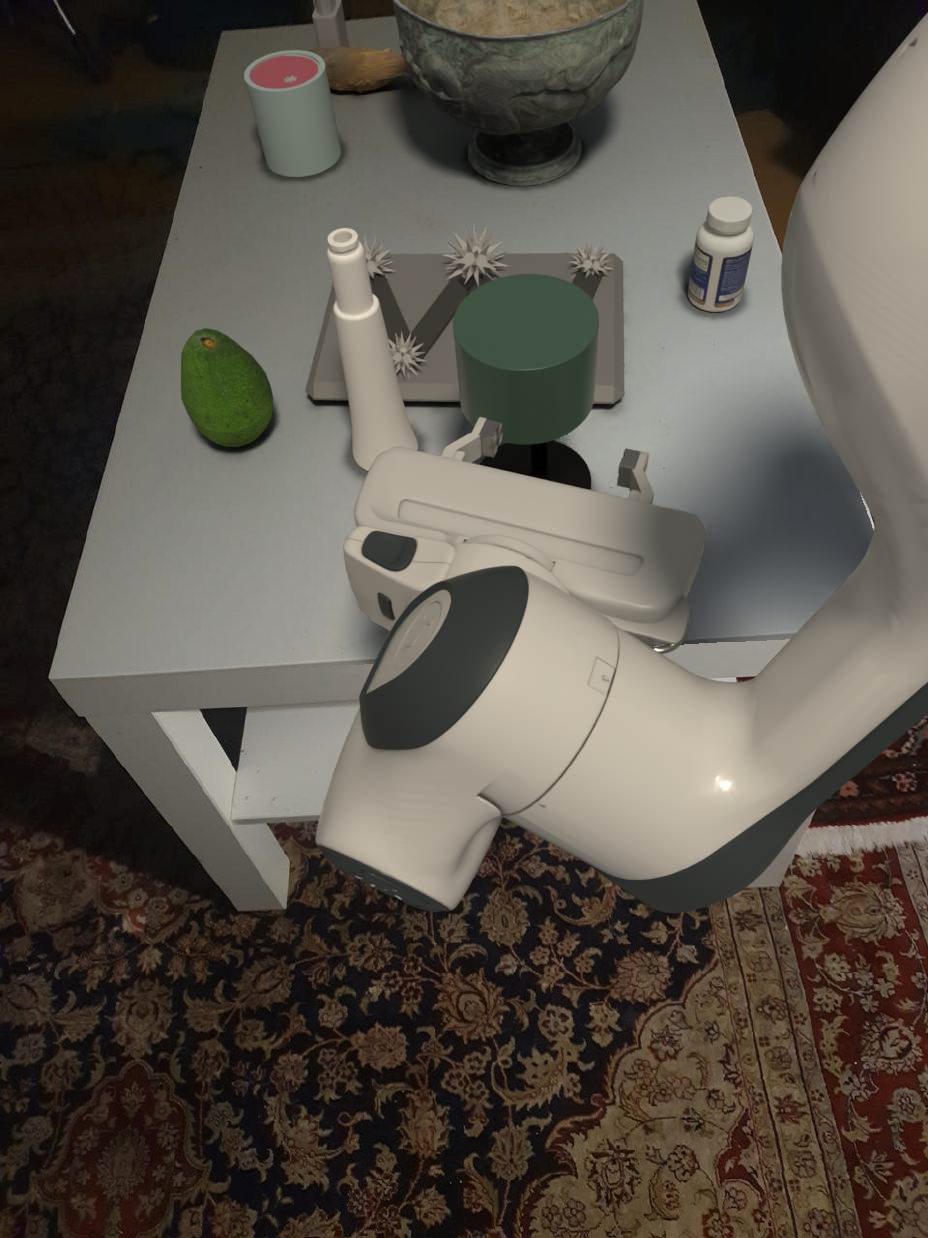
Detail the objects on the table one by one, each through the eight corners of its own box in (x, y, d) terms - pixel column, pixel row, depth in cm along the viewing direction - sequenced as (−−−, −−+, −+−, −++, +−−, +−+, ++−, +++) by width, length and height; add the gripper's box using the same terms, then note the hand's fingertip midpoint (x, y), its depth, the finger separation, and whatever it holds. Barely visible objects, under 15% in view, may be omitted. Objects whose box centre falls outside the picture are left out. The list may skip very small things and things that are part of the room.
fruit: (198, 471, 85) (152, 370, 75) (203, 410, 89) (160, 308, 79) (283, 460, 85) (248, 359, 75) (284, 400, 89) (251, 297, 79)
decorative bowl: (682, 172, 104) (700, -29, 88) (480, 251, 100) (460, 55, 83) (566, 81, 119) (563, -107, 102) (386, 146, 114) (352, -39, 98)
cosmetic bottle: (353, 478, 83) (300, 267, 65) (351, 430, 86) (300, 216, 68) (420, 470, 83) (386, 256, 65) (415, 422, 86) (381, 206, 68)
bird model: (296, 81, 122) (287, 41, 118) (453, 73, 121) (450, 32, 116) (290, 105, 119) (281, 65, 115) (451, 97, 117) (448, 55, 113)
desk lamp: (561, 585, 75) (566, 403, 58) (446, 556, 77) (420, 374, 61) (603, 470, 81) (619, 277, 65) (496, 447, 84) (485, 255, 67)
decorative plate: (306, 410, 88) (289, 351, 82) (342, 268, 100) (329, 208, 94) (623, 413, 85) (629, 352, 79) (622, 266, 97) (627, 204, 91)
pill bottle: (745, 283, 94) (764, 194, 86) (736, 317, 91) (755, 229, 83) (692, 275, 95) (706, 187, 87) (682, 309, 92) (695, 221, 84)
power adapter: (351, 55, 125) (335, -46, 115) (344, 76, 122) (327, -26, 112) (329, 56, 126) (311, -45, 116) (322, 76, 123) (302, -25, 113)
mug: (336, 174, 110) (319, 88, 101) (260, 178, 110) (237, 93, 102) (348, 113, 117) (333, 28, 109) (277, 117, 118) (257, 32, 110)
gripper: (685, 634, 46) (739, 440, 53) (315, 538, 50) (409, 372, 57) (670, 695, 51) (720, 511, 58) (336, 603, 56) (419, 443, 63)
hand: (562, 441), depth 58 cm, fingers open, 8 cm apart
